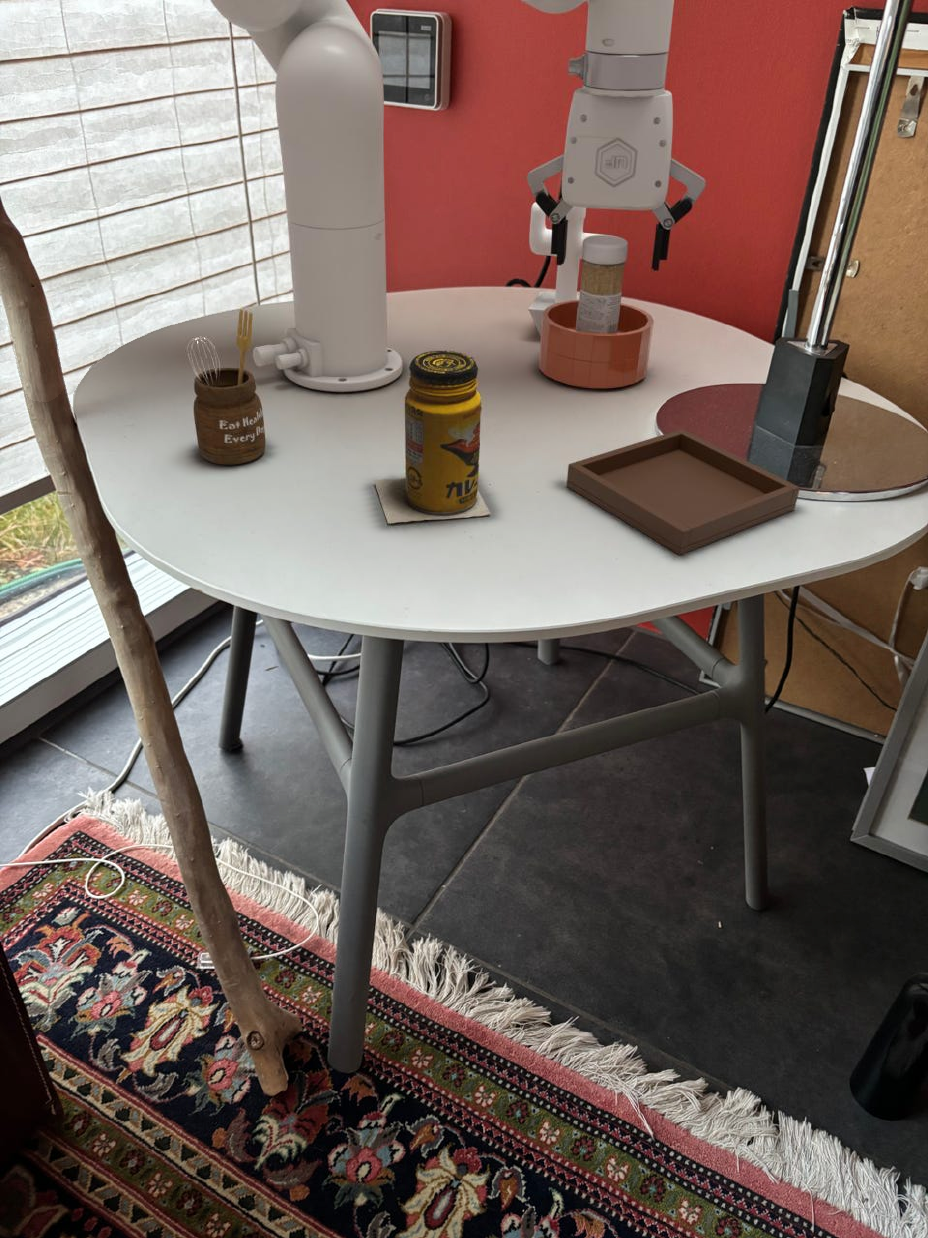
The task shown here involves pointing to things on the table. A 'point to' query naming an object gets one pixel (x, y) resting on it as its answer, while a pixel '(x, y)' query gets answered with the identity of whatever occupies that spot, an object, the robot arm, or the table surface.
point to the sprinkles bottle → (601, 283)
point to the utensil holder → (229, 408)
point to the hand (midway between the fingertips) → (607, 264)
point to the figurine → (542, 246)
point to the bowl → (594, 348)
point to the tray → (682, 489)
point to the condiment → (438, 443)
